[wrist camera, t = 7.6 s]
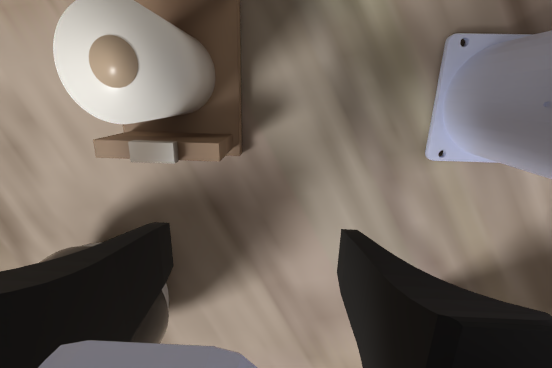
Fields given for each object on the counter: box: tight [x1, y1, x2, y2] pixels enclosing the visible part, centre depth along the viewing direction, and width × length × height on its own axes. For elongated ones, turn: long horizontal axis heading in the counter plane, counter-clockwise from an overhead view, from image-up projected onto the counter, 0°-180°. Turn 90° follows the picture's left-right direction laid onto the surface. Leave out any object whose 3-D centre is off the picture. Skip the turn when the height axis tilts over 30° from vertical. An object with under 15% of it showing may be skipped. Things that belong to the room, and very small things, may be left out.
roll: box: [53, 0, 215, 124], centre depth 15 cm, size 5×5×7 cm
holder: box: [93, 0, 242, 163], centre depth 17 cm, size 8×11×6 cm
